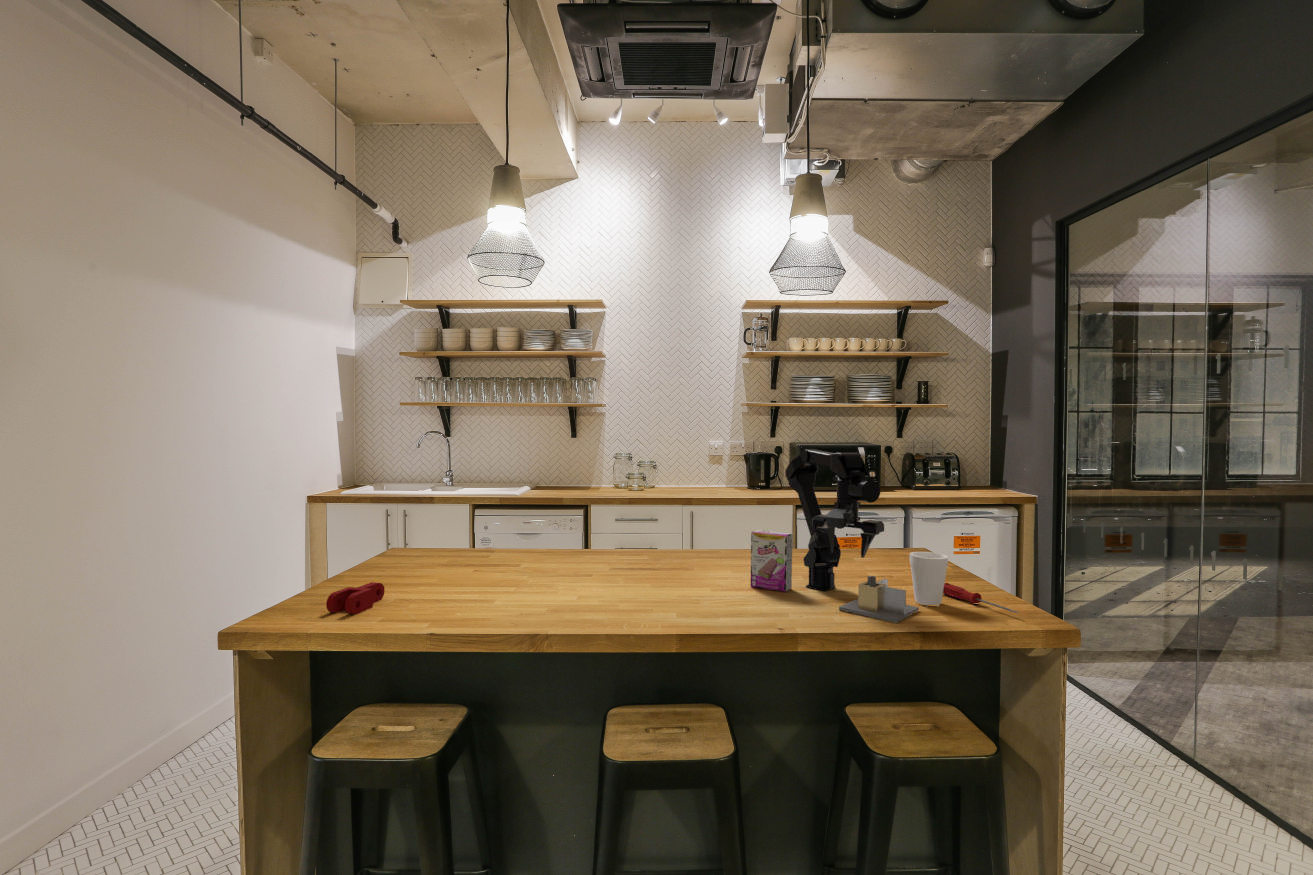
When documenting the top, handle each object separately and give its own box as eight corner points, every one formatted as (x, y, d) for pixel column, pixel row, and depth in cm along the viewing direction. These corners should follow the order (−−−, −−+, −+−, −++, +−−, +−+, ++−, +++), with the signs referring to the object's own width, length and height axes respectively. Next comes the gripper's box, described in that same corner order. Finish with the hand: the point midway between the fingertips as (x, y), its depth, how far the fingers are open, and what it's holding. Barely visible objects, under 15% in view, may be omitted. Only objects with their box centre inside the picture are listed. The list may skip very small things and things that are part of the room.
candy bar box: (749, 587, 188) (750, 531, 188) (756, 583, 192) (757, 529, 192) (786, 593, 182) (786, 535, 182) (792, 589, 186) (793, 532, 186)
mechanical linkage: (351, 617, 157) (351, 596, 157) (326, 614, 159) (326, 594, 159) (392, 599, 173) (392, 581, 173) (369, 598, 175) (369, 579, 175)
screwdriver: (1012, 620, 158) (1012, 606, 158) (939, 594, 182) (939, 582, 182) (1023, 619, 159) (1023, 605, 159) (949, 593, 183) (949, 581, 183)
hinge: (858, 607, 164) (858, 584, 164) (876, 599, 172) (877, 577, 172) (900, 616, 157) (901, 592, 157) (918, 607, 165) (918, 584, 165)
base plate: (839, 610, 165) (839, 606, 165) (863, 599, 175) (863, 596, 175) (896, 623, 155) (896, 618, 155) (918, 611, 165) (918, 607, 165)
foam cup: (906, 605, 171) (907, 556, 170) (910, 597, 179) (911, 550, 179) (946, 610, 166) (946, 560, 166) (948, 601, 174) (949, 553, 174)
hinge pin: (866, 608, 164) (866, 576, 164) (868, 606, 166) (869, 575, 165) (873, 609, 163) (874, 578, 163) (876, 607, 164) (876, 576, 164)
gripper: (802, 497, 177) (801, 554, 177) (867, 503, 164) (866, 564, 164) (822, 494, 185) (821, 548, 185) (885, 500, 172) (884, 558, 172)
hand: (846, 555), depth 176 cm, fingers open, 9 cm apart
